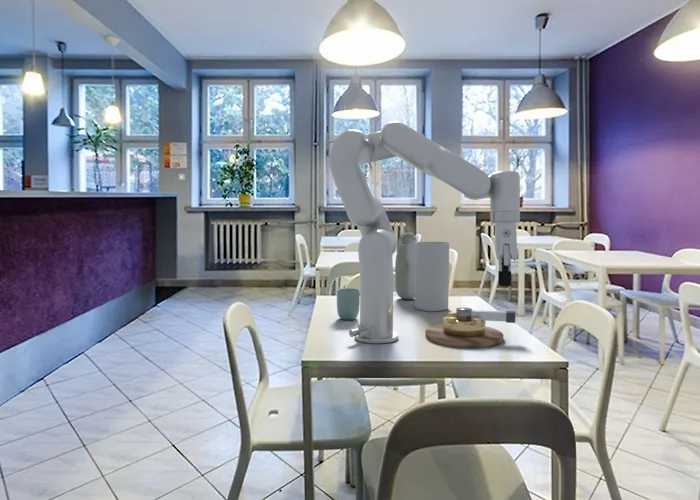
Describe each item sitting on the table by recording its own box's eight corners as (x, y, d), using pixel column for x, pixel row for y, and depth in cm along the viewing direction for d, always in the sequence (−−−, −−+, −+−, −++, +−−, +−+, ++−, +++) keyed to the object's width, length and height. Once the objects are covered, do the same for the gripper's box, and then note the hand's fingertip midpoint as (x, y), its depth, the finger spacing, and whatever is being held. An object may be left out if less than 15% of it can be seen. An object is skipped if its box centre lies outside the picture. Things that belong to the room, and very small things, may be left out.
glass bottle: (393, 297, 201) (393, 231, 199) (417, 296, 202) (417, 231, 200) (397, 301, 192) (397, 232, 189) (421, 301, 192) (422, 232, 190)
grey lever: (441, 335, 133) (442, 312, 132) (443, 325, 144) (443, 304, 144) (516, 339, 128) (517, 315, 127) (512, 328, 139) (512, 307, 139)
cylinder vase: (451, 312, 172) (452, 243, 169) (416, 311, 172) (417, 243, 170) (444, 305, 184) (445, 241, 182) (412, 305, 184) (413, 241, 182)
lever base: (479, 353, 122) (479, 347, 121) (410, 337, 137) (410, 332, 137) (516, 336, 137) (516, 331, 137) (451, 324, 153) (451, 319, 152)
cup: (339, 315, 166) (339, 287, 165) (361, 316, 164) (361, 288, 163) (334, 321, 158) (334, 291, 157) (357, 322, 156) (357, 292, 156)
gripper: (523, 218, 118) (522, 290, 119) (516, 217, 132) (516, 281, 134) (491, 218, 120) (491, 290, 121) (488, 217, 134) (489, 281, 136)
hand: (504, 285), depth 127 cm, fingers closed
